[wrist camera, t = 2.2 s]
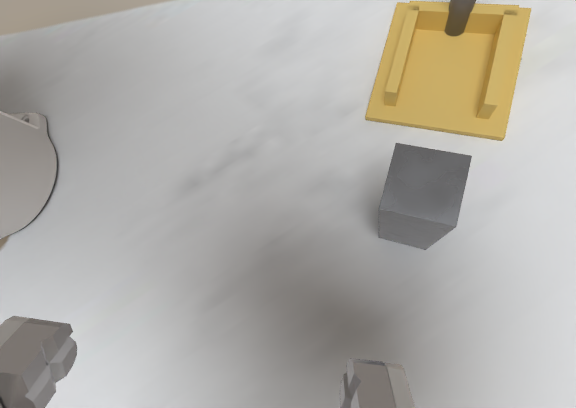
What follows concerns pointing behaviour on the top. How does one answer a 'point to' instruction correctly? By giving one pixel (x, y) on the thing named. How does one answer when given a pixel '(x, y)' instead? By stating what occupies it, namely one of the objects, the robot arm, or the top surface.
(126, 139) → the top surface
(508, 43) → the keeper
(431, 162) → the gray rectangular block
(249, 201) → the top surface
